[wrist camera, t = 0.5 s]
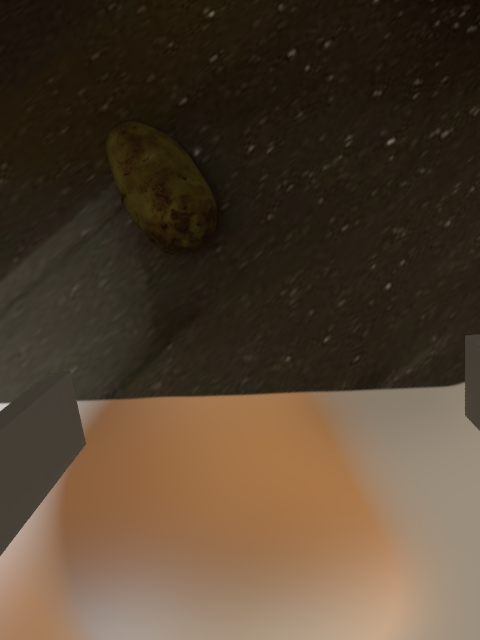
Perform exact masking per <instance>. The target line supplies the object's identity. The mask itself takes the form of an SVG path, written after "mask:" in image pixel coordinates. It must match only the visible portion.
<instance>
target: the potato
mask: <svg viewBox="0 0 480 640" xmlns="http://www.w3.org/2000/svg"><path fill="white" fill-rule="evenodd" d="M106 154H107V159H108V162H109V165H110V168H111V171H112V174H113V177H114V179H115V182H116V185H117V187H118V190H119V193H120V195H121V200H122V203H123V204H124V205H125V208H126V210H127V212H128V213H129V215H130V217H131V218H132V219H133V221H134V222H135V223H136V224H137V225H138V226H139V227H140V228H141V229H142V230H143V231H144V232H145V234H146V235H147V237H148V238H149V239H150V241H151V242H152V243H153V244H154V245H155V246H156V247H158V248H159V249H160V250H162V251H163V252H165V253H168V254H171V255H186V254H191V253H194V252H196V251H198V250H200V249H202V248H203V247H205V246H206V245H207V244H208V243H209V242H210V240H211V239H212V237H213V235H214V232H215V230H216V228H217V205H216V202H215V199H214V196H213V194H212V191H211V189H210V187H209V185H208V183H207V182H206V180H205V178H204V177H203V175H202V173H201V172H200V171H199V169H198V168H197V167H196V165H195V164H194V162H193V160H192V159H191V157H190V156H189V155H188V153H187V152H186V151H185V150H184V149H183V148H182V147H181V146H180V145H179V144H178V143H177V142H176V141H175V140H174V139H173V138H171V137H170V136H169V135H167V134H166V133H164V132H163V131H161V130H159V129H156V128H154V127H151V126H148V125H146V124H143V123H140V122H136V121H129V120H128V121H122V122H120V123H118V124H117V125H116V126H115V127H114V128H113V129H112V130H111V132H110V133H109V135H108V138H107V141H106Z"/></svg>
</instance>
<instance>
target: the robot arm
mask: <svg viewBox="0 0 480 640" xmlns="http://www.w3.org/2000/svg"><path fill="white" fill-rule="evenodd" d="M465 415H466V416H467V418H468V419H469V420H470V421H471V422H472V423H473V424H474V425H475V426H476V427H477V428H478V429H479V430H480V335H469V336H465ZM85 445H86V442H85V437H84V433H83V428H82V424H81V419H80V415H79V411H78V405H77V401H76V396H75V392H74V387H73V383H72V378H71V374H70V372H64V373H53V374H48V375H47V376H46V377H44V378H43V379H42V380H40V381H39V382H38V383H36V384H35V385H34V386H33V387H31V388H30V389H29V390H27V391H26V392H25V393H23V394H22V395H21V396H20V397H18V398H17V399H16V400H14V401H13V402H12V403H10V404H9V405H8V406H7V407H5V408H4V409H3V410H1V411H0V556H1V554H2V553H3V552H4V550H5V549H6V548H7V547H8V545H9V544H10V543H11V541H12V540H13V539H14V537H15V536H16V535H17V534H18V532H19V531H20V530H21V528H22V527H23V525H24V524H25V523H26V522H27V520H28V519H29V518H30V517H31V515H32V514H33V513H34V511H35V510H36V509H37V507H38V506H39V505H40V503H41V502H42V501H43V500H44V498H45V497H46V496H47V494H48V493H49V492H50V490H51V489H52V488H53V486H54V485H55V484H56V483H57V481H58V480H59V479H60V477H61V476H62V475H63V473H64V472H65V470H66V469H67V468H68V467H69V466H70V464H71V463H72V462H73V460H74V459H75V458H76V456H77V455H78V454H79V452H80V451H81V450H82V449H83V447H84V446H85Z"/></svg>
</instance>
